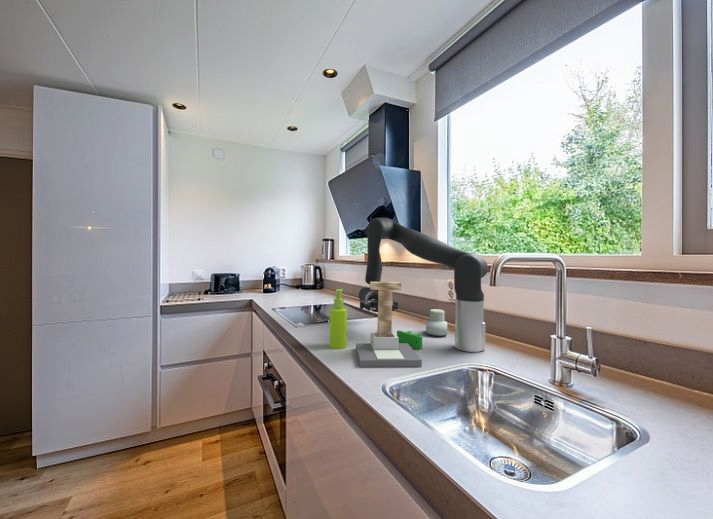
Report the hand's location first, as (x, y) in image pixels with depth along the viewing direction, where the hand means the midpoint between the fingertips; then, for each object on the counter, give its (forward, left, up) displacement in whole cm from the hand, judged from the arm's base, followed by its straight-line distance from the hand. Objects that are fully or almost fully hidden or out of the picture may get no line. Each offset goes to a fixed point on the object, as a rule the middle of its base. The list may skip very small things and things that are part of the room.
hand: (381, 308), depth 111 cm
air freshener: (-26, -16, -14) cm, 33 cm away
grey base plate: (0, +12, -14) cm, 18 cm away
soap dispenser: (+15, 0, -14) cm, 20 cm away
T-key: (0, +8, -12) cm, 14 cm away
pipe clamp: (-11, -1, -14) cm, 18 cm away
